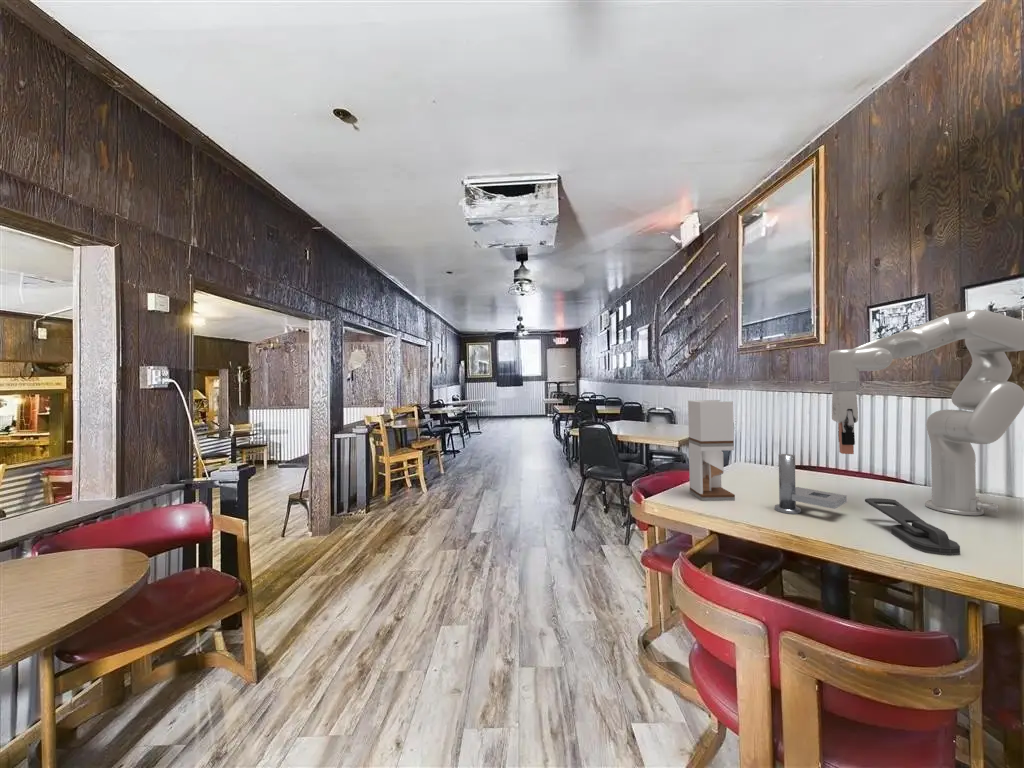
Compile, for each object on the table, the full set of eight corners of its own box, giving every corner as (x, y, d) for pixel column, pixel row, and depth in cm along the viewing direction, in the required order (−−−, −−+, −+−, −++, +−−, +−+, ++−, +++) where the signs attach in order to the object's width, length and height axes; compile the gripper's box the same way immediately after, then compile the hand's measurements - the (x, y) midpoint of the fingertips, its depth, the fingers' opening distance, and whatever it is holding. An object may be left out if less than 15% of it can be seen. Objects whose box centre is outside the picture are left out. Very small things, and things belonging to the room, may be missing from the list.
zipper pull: (896, 498, 120) (968, 529, 96) (896, 521, 120) (968, 557, 96) (860, 497, 122) (922, 526, 98) (860, 519, 122) (922, 554, 98)
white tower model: (701, 500, 143) (700, 402, 143) (689, 492, 154) (688, 400, 154) (734, 500, 143) (733, 401, 142) (720, 492, 153) (718, 399, 153)
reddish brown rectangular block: (839, 452, 134) (838, 421, 134) (850, 452, 133) (850, 422, 133) (841, 453, 131) (841, 422, 131) (853, 454, 130) (853, 423, 130)
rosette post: (846, 514, 126) (845, 457, 126) (832, 524, 118) (831, 462, 118) (787, 502, 139) (786, 450, 139) (770, 510, 132) (769, 455, 132)
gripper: (824, 387, 141) (826, 439, 141) (836, 388, 126) (839, 447, 126) (851, 386, 137) (853, 440, 138) (867, 388, 123) (870, 448, 123)
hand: (846, 443), depth 132 cm, fingers closed on reddish brown rectangular block, 3 cm apart
